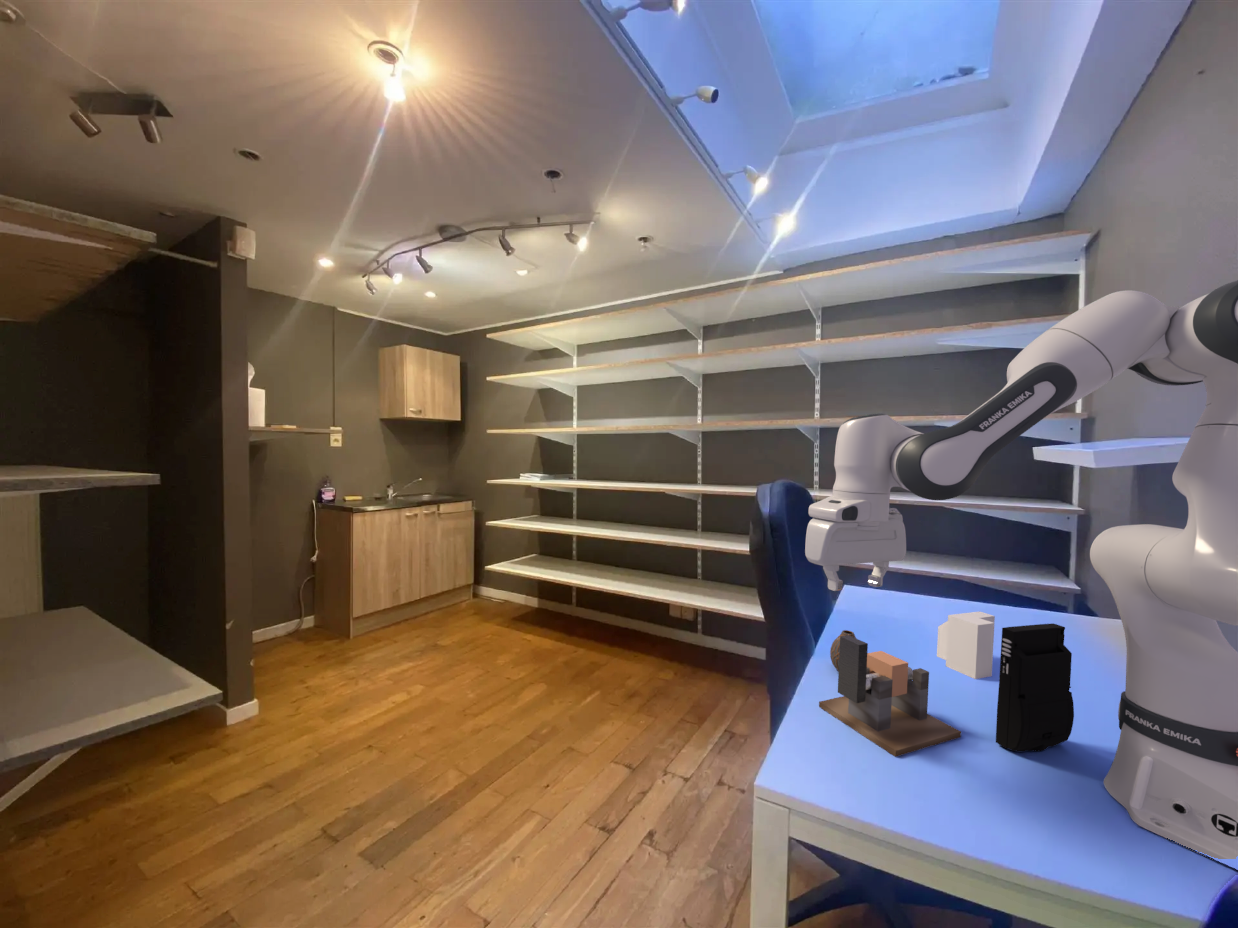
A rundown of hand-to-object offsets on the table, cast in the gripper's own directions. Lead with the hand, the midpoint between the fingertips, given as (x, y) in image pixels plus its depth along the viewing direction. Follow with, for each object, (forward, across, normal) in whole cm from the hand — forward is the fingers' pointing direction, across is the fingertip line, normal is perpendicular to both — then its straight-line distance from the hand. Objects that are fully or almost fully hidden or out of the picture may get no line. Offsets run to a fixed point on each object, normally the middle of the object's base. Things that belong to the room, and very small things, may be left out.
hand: (855, 587), depth 83 cm
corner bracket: (+25, -49, -11) cm, 56 cm away
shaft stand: (+25, -9, 0) cm, 27 cm away
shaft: (+19, -7, 0) cm, 20 cm away
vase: (+25, -19, -18) cm, 36 cm away
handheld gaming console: (+25, -26, +14) cm, 39 cm away
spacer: (+19, -8, 0) cm, 21 cm away
